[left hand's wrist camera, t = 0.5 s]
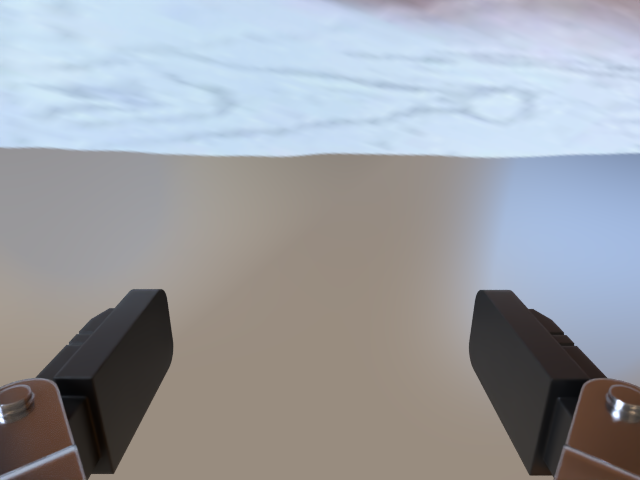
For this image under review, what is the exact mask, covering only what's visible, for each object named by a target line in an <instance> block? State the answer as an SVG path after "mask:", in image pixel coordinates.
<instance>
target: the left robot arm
mask: <svg viewBox="0 0 640 480" xmlns="http://www.w3.org/2000/svg"><path fill="white" fill-rule="evenodd" d="M469 354H470V360H471V364H472V367H473V369H474V371H475V373H476V375H477V376H478V378H479V380H480V382H481V384H482V386H483V388H484V390H485V392H486V394H487V395H488V397H489V399H490V401H491V403H492V405H493V407H494V409H495V411H496V413H497V414H498V416H499V418H500V420H501V422H502V424H503V426H504V428H505V430H506V432H507V433H508V435H509V437H510V439H511V441H512V443H513V445H514V447H515V449H516V450H517V452H518V454H519V456H520V458H521V460H522V462H523V464H524V466H525V467H526V469H527V471H528V473H529V475H553V477H554V480H640V387H638V386H636V385H633V384H630V383H627V382H624V381H620V380H616V379H609V378H607V377H606V376H605V375H604V374H603V373H602V372H601V371H600V370H599V369H598V368H597V367H596V366H595V365H594V364H593V362H592V361H591V360H590V359H589V358H588V357H587V356H586V355H585V354H584V353H583V352H582V351H581V350H580V349H579V348H578V347H577V346H574V343H573V342H572V341H571V340H570V338H569V337H568V336H567V335H564V332H563V331H562V330H561V329H560V328H559V327H558V326H557V325H556V324H555V323H554V322H553V321H552V320H551V319H549V318H548V317H546V316H544V315H542V314H541V313H539V312H537V311H535V310H534V309H528V308H527V307H526V306H525V305H524V304H523V303H522V302H521V300H520V299H519V298H518V297H517V296H516V295H515V294H514V293H513V292H512V291H511V290H480V291H478V293H477V295H476V299H475V305H474V312H473V320H472V327H471V334H470V341H469ZM172 355H173V338H172V331H171V324H170V317H169V309H168V302H167V297H166V293H165V292H164V290H162V289H133V290H131V291H130V292H129V293H128V294H127V295H126V296H125V297H124V298H123V299H122V301H121V302H120V303H119V304H118V305H117V306H116V307H115V308H109V309H108V310H106V311H104V312H102V313H101V314H99V315H97V316H96V317H94V318H92V319H91V320H90V321H89V322H88V323H87V324H86V325H85V326H84V327H83V328H82V329H81V330H80V331H79V334H77V335H76V336H75V337H74V338H73V339H72V340H71V341H70V342H69V345H66V346H65V347H64V348H63V349H62V350H61V351H60V352H59V353H58V355H57V356H56V357H55V358H54V359H53V360H52V361H51V362H50V363H49V364H48V365H47V366H46V367H45V368H44V369H43V370H42V371H41V372H40V373H39V375H38V376H37V377H36V378H31V379H24V380H20V381H16V382H13V383H10V384H7V385H4V386H2V387H0V480H88V478H89V477H90V475H91V474H114V472H115V470H116V468H117V466H118V465H119V463H120V461H121V459H122V457H123V455H124V453H125V451H126V449H127V447H128V445H129V444H130V442H131V440H132V438H133V436H134V434H135V432H136V430H137V428H138V426H139V424H140V422H141V421H142V418H143V417H144V415H145V413H146V411H147V409H148V407H149V405H150V403H151V401H152V399H153V397H154V396H155V394H156V392H157V390H158V388H159V386H160V384H161V382H162V380H163V378H164V376H165V374H166V372H167V371H168V369H169V367H170V364H171V361H172Z"/></svg>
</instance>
